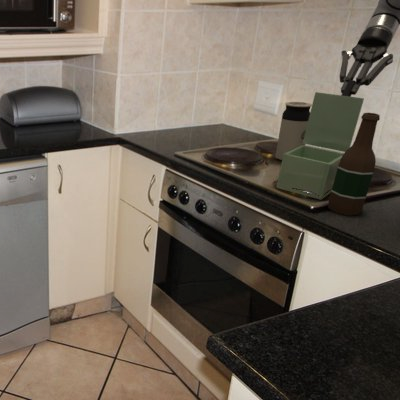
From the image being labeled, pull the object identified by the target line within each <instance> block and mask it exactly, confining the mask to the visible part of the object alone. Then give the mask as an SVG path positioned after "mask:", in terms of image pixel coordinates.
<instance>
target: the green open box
mask: <svg viewBox="0 0 400 400" xmlns="http://www.w3.org/2000/svg"><path fill="white" fill-rule="evenodd" d="M344 153H345V152H342V151H337V150H332V149H327V148H322V147H317V146H312V145H307V144H305V145H301V146H299V147H297V148H295V149H293V150H291V151H289V152H287V153H284V155H283V159H282V160H281V164H280V168H279V173H278V177H277V182H276V186H275V188H276V189H279V190H283V191H287V192H291V193H294V194H297V195H301V196H304V197H309V198H312V199H316V200H319V201H322V200H323V199H325V198H326V197H328V196H330V194H331V191H332V190H331V191H329V192H328V193H326V192H327V191H328V190H329V189H331V188H332V187H333V183H334V180H335V176H336V172H337V169H338V165H339V163H340V160H341V158H342V156H343V154H344ZM292 188H297V189H303V190H308V191H312V192H314V193H316V194H317V195H315V194H311V193H307V192H303V191H300V190H296V189H292ZM325 193H326V194H325ZM324 194H325V195H324ZM318 195H319V196H318Z"/></svg>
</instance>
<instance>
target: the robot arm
mask: <svg viewBox="0 0 400 400" xmlns="http://www.w3.org/2000/svg"><path fill="white" fill-rule="evenodd" d="M399 28H400V0H378V2H377V6H376V8H375V9H374V11H373V13H372V15H371V17H370V19H369V20H368V22H367V24H366V26H365V28H364V30H363V32H362V33H361V35H360V37H359V39H358V41H357V43H356V45H355V46H354V47H352V48H351V50H342V51H341V65H340V69H339V70H340V71H339V82H340V84H341V83H342V86H341V87H340V94H341V95H342V96H350V97H352V95H353V96H355V95H357V93H358V91H359V89H360V87H361V86H365V87H369V86H370V85H371V84H372V83H373V82H374V81H375V79H376V78H377V77H378V76H379V75H380V74H381V73H382V72H383V70H384V69H386V67H387V66H389V65H391V64H392V63H394V54H393V53H388V48H389V47H390V45H391V42H392V41H393V38H394V37H395V35H396V34H397V31H398V29H399ZM351 57H353V59H354V61H353V63H352V65H351V67H350V69H349V71H348V66H349V60H350V59H351ZM374 63H377V64H376V65H374ZM373 65H374V67H373V68H372V66H373ZM360 68H361V69H360ZM359 69H360V70H359ZM370 69H371V70H370ZM358 71H359V73H358ZM357 73H358V74H357ZM356 75H357V77H356ZM354 79H355V80H354Z"/></svg>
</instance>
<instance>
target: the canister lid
mask: <svg viewBox="0 0 400 400" xmlns="http://www.w3.org/2000/svg"><path fill="white" fill-rule="evenodd" d="M364 100H365V97H358V96H357V97H356V96H351V97H350V96H342V94H336V93H335V94H334V93H325V92H318V91H316V92H315V93H314V96H313V101H312V103H311V104H312V106H311V107H310V116H309V120H308V124H307V128H306V132H305V136H304V140H303V144H305V145H307V146H312V147H317V148H322V149H327V150H332V151H337V152H342V153H345V152H346V150H348V149H349V148H350V147H351V146H352V142H353V139H354V136H355V132H356V129H357V125H358V121H359V118H360V115H361V112H362V107H363V104H364Z"/></svg>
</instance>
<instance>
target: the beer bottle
mask: <svg viewBox="0 0 400 400" xmlns="http://www.w3.org/2000/svg"><path fill="white" fill-rule="evenodd" d="M380 117H381V115H380V114H378V113H376V112H375V113H374V112H363V114H362V115H361V117H360V118H361V122H360V125H359V127H358V131H357V133H356V136H355V138H354V141H353V143H352V144H351V146H350V148H349V149H348V150H346V152H343V153H344V154H343V156H342V158H341V160H340V163H339V165H338V169H337V172H336V176H335V180H334V183H333V187H332V191H331V193H330V194H329V199H328V203H327V209H328V210H330V211H332V212H334V213H335V214H339V215H345V216H350V217H351V216H360V215H361V213H362V211H363V208H364V206H365V202H366V199H367V195H368V192H369V189H370V187H371V186H370V185H371V182H372V178H373V176H374V173H375V167H376V162H377V161H376V154H375V152H374V149H373V144H374V139H375V135H376V129H377V124H378V121H380V119H381V118H380Z"/></svg>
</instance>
